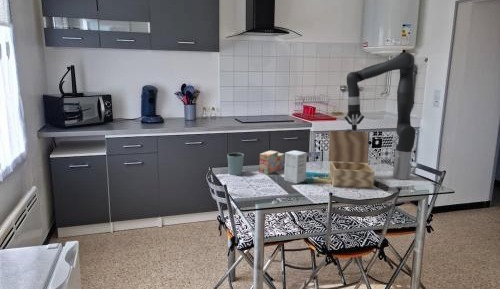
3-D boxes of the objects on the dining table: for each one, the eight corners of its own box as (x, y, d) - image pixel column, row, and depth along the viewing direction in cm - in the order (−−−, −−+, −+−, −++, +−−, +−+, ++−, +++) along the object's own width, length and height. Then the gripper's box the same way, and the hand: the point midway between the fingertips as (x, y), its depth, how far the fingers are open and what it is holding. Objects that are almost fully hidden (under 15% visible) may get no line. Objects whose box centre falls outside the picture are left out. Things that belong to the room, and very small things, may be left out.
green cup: (244, 171, 237) (244, 153, 234) (242, 176, 227) (242, 157, 225) (228, 170, 238) (228, 152, 235) (225, 175, 228) (226, 156, 226)
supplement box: (306, 180, 223) (307, 152, 219) (296, 183, 216) (298, 155, 213) (292, 176, 229) (294, 149, 226) (283, 180, 223) (284, 152, 219)
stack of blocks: (276, 165, 254) (277, 147, 251) (284, 167, 250) (285, 149, 248) (258, 172, 236) (259, 153, 234) (267, 174, 233) (268, 155, 230)
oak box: (365, 179, 229) (366, 163, 227) (372, 188, 211) (374, 171, 209) (328, 177, 230) (329, 161, 228) (333, 186, 213) (334, 169, 211)
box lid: (368, 162, 226) (367, 162, 229) (368, 130, 228) (367, 131, 231) (329, 160, 227) (328, 161, 230) (330, 128, 229) (329, 129, 233)
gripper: (362, 102, 245) (363, 129, 248) (342, 103, 245) (342, 130, 248) (366, 103, 237) (366, 130, 240) (344, 104, 238) (345, 132, 241)
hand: (354, 130), depth 244 cm, fingers closed
